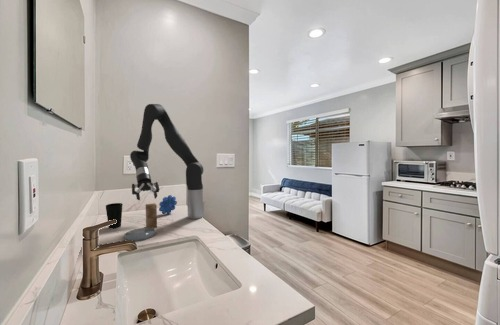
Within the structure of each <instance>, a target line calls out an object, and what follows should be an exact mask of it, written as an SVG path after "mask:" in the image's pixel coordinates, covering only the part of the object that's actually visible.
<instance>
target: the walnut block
mask: <svg viewBox="0 0 500 325" xmlns="http://www.w3.org/2000/svg"><path fill="white" fill-rule="evenodd" d="M157 207H158V206H157V204H156V203H148V204H147V203H146V204H145V228H152V229H155V228H158V219H157V218H158V215H157V214H158V213H157V212H158V211H157Z"/></svg>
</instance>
